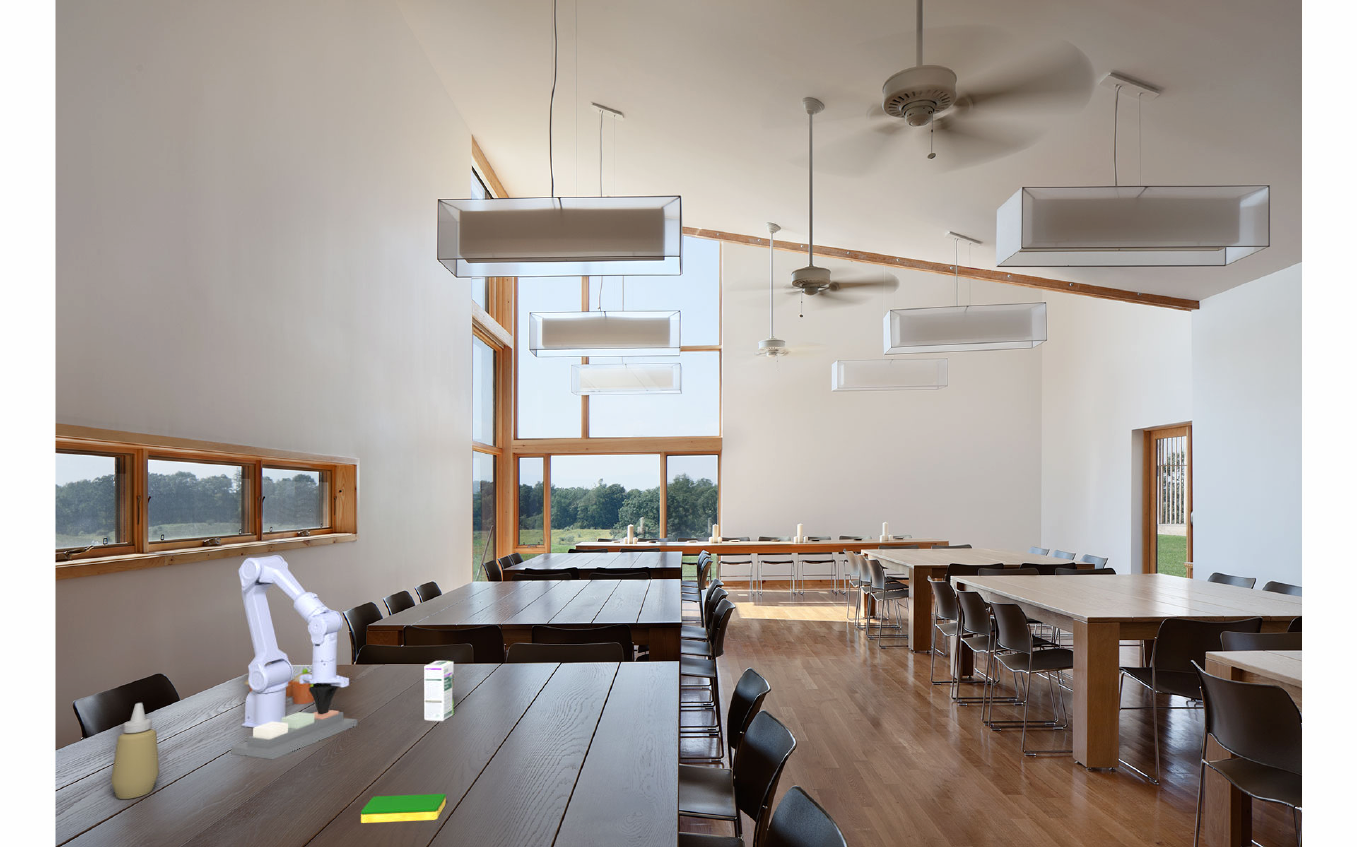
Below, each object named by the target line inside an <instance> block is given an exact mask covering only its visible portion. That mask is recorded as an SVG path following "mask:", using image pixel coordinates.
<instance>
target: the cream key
mask: <svg viewBox="0 0 1357 847" xmlns="http://www.w3.org/2000/svg"><path fill="white" fill-rule="evenodd" d="M252 728H253V729H252V732H253V733H252V735H253V737H256V738H264V739H271V738H274V737H277V736H279V735H282V734H285V733H288V723H281V722H273V721H272V722H269V723H266V724H263V725H260V726H257V727H252Z"/></svg>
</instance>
